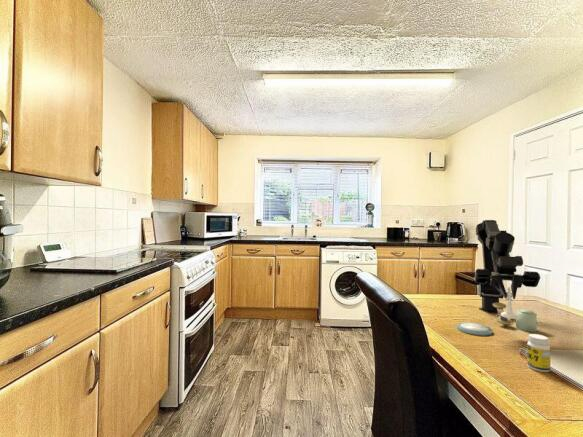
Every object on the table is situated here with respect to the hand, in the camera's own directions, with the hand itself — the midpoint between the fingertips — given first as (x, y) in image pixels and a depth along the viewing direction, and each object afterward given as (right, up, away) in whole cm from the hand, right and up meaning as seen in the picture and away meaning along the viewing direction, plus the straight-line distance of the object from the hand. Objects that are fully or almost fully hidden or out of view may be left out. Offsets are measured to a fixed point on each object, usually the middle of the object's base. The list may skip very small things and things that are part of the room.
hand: (510, 298), depth 103 cm
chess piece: (+1, -7, +1) cm, 7 cm away
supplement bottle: (-9, -13, -22) cm, 27 cm away
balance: (+9, -14, +17) cm, 23 cm away
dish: (-8, -13, +7) cm, 17 cm away
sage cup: (+12, -13, +8) cm, 20 cm away
